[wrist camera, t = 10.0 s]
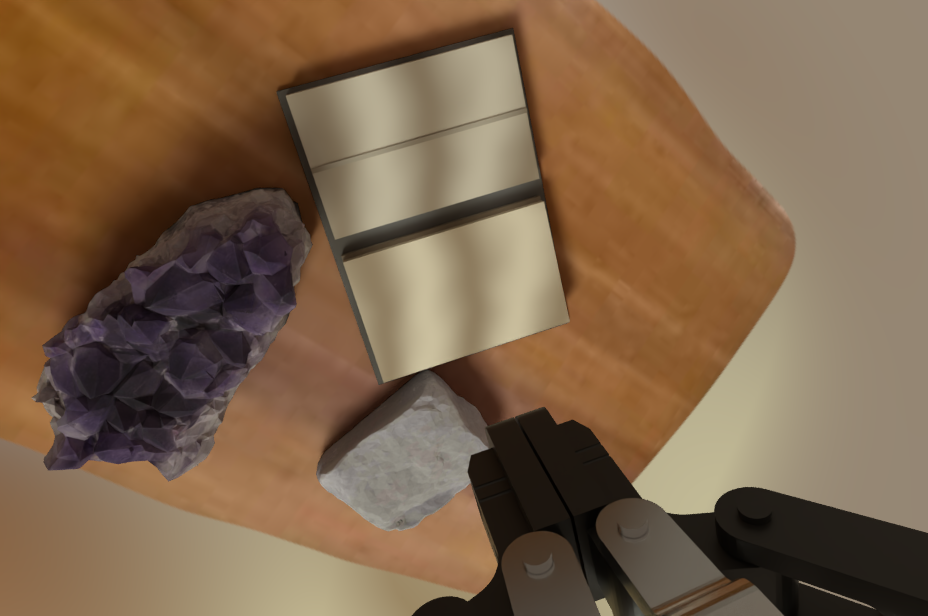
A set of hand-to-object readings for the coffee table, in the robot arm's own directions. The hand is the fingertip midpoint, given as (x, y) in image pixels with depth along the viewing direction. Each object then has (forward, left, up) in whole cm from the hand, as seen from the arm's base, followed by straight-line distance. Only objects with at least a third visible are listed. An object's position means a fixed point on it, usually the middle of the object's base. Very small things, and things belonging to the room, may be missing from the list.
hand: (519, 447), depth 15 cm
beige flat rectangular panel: (+3, -7, -28) cm, 29 cm away
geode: (-14, -3, -29) cm, 33 cm away
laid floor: (+3, -3, -29) cm, 29 cm away
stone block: (-4, -20, -30) cm, 36 cm away
